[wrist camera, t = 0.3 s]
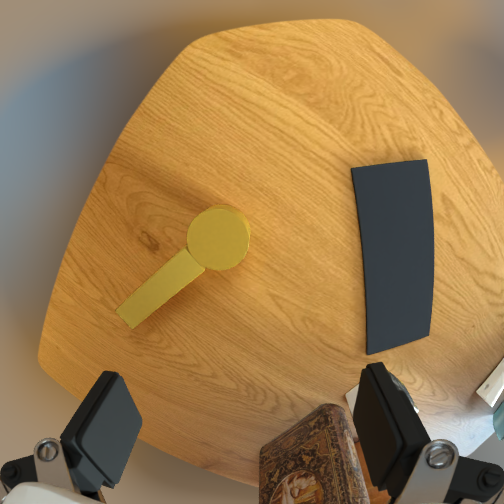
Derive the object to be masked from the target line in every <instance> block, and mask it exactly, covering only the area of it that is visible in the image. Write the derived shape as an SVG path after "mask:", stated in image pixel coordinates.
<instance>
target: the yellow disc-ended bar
mask: <svg viewBox="0 0 504 504" xmlns="http://www.w3.org/2000/svg"><path fill="white" fill-rule="evenodd" d="M249 241H250V226H249V223H248V220H247V219H246V217H245V216H244V214H243V213H242V212H241V211H239V210H238V209H236V208H235V207H232V206H230V205H224V204H219V205H214V206H211V207H209V208H207V209H206V210H204V211H203V212H201V213H200V214H199V215H197V216H196V217H195V218H194V219H193V221H192V222H191V224H190V225H189V228H188V231H187V244H186V245H185V246H184V247H183V248H182V249H181V250H179V251H178V252H177V253H176V254H175V255H174V256H173V257H172V258H170V259H169V260H168V261H167V262H166V263H165V264H164V265H163V266H161V267H160V268H159V269H158V270H157V271H156V272H155V273H154V274H153V275H151V276H150V277H149V278H148V279H147V280H146V281H145V282H144V283H143V284H142V285H141V286H139V287H138V288H137V289H136V290H135V291H134V292H133V293H132V294H131V295H130V296H129V297H128V298H127V299H126V300H125V301H124V302H123V303H122V304H121V305H120V306H119V307H118V308H117V309H116V310H115V312H116V313H117V314H118V315H119V316H120V317H121V318H122V319H123V320H124V322H125V323H126V324H127V325H128V326H129V327H130V328H131V329H134V328H135V327H136V326H137V325H139V324H140V323H141V322H142V321H143V320H145V319H146V318H147V317H148V316H150V315H151V314H152V313H153V312H154V311H156V310H157V309H158V308H159V307H160V306H162V305H163V304H164V303H165V302H167V301H168V300H169V299H170V298H171V297H173V296H174V295H175V294H176V293H178V292H179V291H180V290H181V289H183V288H184V287H185V286H186V285H187V284H189V283H190V282H191V281H192V280H194V279H195V278H196V277H197V276H199V275H200V274H201V273H202V272H204V270H205V268H208V269H212V270H226V269H229V268H232V267H234V266H235V265H237V264H238V263H239V262H241V260H242V259H243V258H244V257H245V255H246V253H247V250H248V247H249Z"/></svg>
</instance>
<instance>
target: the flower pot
mask: <svg viewBox="0 0 504 504" xmlns="http://www.w3.org/2000/svg"><path fill="white" fill-rule="evenodd" d="M493 425H494V429H495V432H496V434H497V437H498V439H499V441H500V440H502V439H504V402H503V403H502V404H501V405H500V407H499V408H498V409H497V411H496V412H495V413H494V415H493Z"/></svg>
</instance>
